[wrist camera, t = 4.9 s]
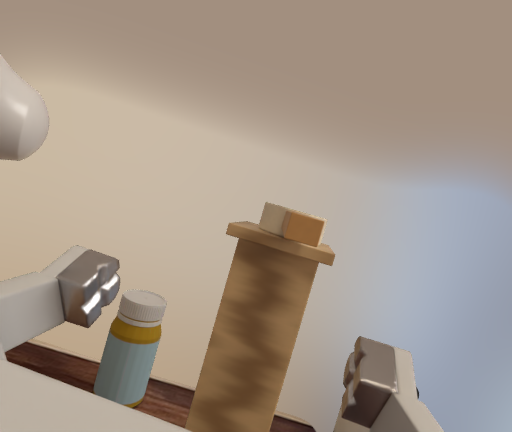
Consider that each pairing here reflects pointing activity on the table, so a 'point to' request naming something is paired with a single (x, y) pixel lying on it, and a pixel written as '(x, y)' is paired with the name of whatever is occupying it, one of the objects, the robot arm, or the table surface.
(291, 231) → the scoop
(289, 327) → the stand
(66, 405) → the robot arm
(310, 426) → the table surface
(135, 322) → the bottle
